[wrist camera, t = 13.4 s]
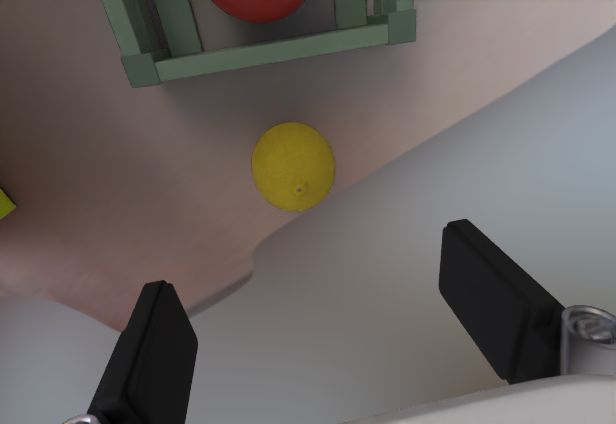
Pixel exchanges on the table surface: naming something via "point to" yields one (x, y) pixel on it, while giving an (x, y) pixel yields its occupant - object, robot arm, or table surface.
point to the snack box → (5, 205)
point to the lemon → (293, 166)
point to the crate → (193, 61)
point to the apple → (259, 9)
